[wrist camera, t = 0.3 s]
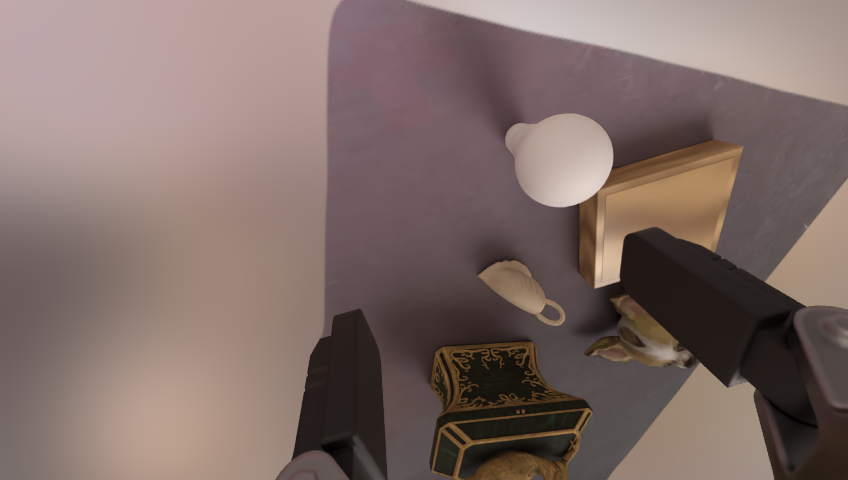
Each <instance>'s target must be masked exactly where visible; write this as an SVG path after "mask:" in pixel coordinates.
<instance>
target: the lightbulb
mask: <svg viewBox="0 0 848 480" xmlns="http://www.w3.org/2000/svg"><path fill="white" fill-rule="evenodd" d="M505 145H506V147H507V148H508V149H509V151H510V152H511V153H512V155H513V157H514V158H515V172H516V177H517V179H518V182H519V184H520V186H521V188H522V189H523V190H524V192H525V193H526V194H527V195H528V196H530V197H531V198H532V199H533V200H535V201H537V202H539V203H541V204H544V205H547V206H552V207H567V206H572V205H576V204H578V203H581V202H583V201H585V200H587V199H589V198H590V197H591V196H593V195H594V194H595V193H596V192H597V191H598V190H599V189H600V188H601V187H602V186H603V185H604V183H605V182H606V180H607V178H608V176H609V174H610V171H611V168H612V164H613V148H612V144H611V141H610V139H609V136H608V135H607V133H606V132H605V130H604V129H603V128H602V127H601V126H600V125H599V124H598V123H596V122H595V121H593V120H592V119H590V118H588V117H585V116H582V115H578V114H569V113H568V114H560V115H554V116H551V117H549V118H546V119H544V120H543V121H541V122H539V123H538V124H525V123H518V124H515V125H513V126H512V127H511V128H510V129H509V130H508V132H507V133H506V136H505Z"/></svg>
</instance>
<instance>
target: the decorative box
mask: <svg viewBox="0 0 848 480" xmlns="http://www.w3.org/2000/svg"><path fill="white" fill-rule="evenodd" d="M430 387H431V389H432V390H433V391H434V393H435V394H436V395H437V396H438V397H439V399H440V401H441V403H442V406H443V411H442V413H441V414H440V415H439V417H438V418H437V422H436V428H435V433H434V439H433V444H432V450H431V455H430V462H429V463H430V469H431V471H432V472H434V473H436V474H439V475H442V476H445V477H448V478H451V479H454V480H530V479H531V478H533V476H534V475H535V474H539V475H541V476H542V477H543V478H544V480H568V475H567V465H568V462H569V461H570V460H571V459H572V458H573V456H574V455H575V453H576V452H577V451H578V449H579V445H580V437H581V436H580V435H581V433H582V432H583V430H584V428H585V426H586V424H587V422H588V421H589V419H590V417H591V415H592V413H593V410H592V409H591V407H590V406H589V404H588V403H587V402H586V401H585V400H583V399H581V398H578V397H575V396H572V395H568V394H565V393H562V392H558V391H556V390H554V389H553V388H551V387H550V386H548V385H547V383H546V382H545V381H544V379H543V378H542V376H541V374H540V371H539V368H538V362H537V350H536V346H535V345H534V344H533V343H532V342H514V343H498V344H481V345H464V346H447V347H442V348H440V349H439V350H438V351H436V352H435V358H434V365H433V371H432V378H431V384H430Z"/></svg>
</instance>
